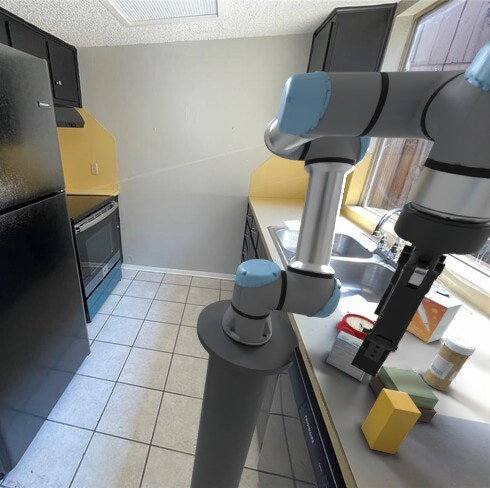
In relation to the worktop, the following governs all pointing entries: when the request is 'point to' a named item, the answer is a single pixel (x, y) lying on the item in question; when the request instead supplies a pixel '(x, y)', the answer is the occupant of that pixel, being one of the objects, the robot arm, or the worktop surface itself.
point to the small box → (433, 316)
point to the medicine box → (345, 354)
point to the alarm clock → (355, 325)
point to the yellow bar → (390, 420)
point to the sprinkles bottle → (448, 362)
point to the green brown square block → (407, 389)
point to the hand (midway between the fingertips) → (374, 340)
